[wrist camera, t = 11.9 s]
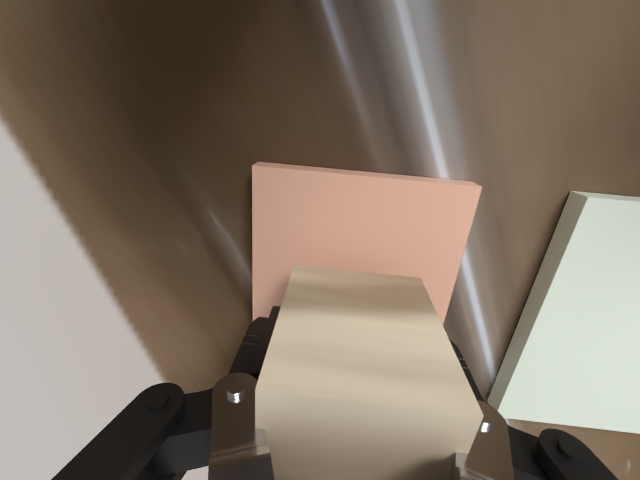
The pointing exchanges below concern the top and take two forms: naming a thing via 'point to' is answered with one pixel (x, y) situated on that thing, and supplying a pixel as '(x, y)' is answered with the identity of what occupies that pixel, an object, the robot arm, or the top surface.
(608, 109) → the top surface
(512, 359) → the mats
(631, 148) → the top surface
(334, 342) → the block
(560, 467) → the robot arm
